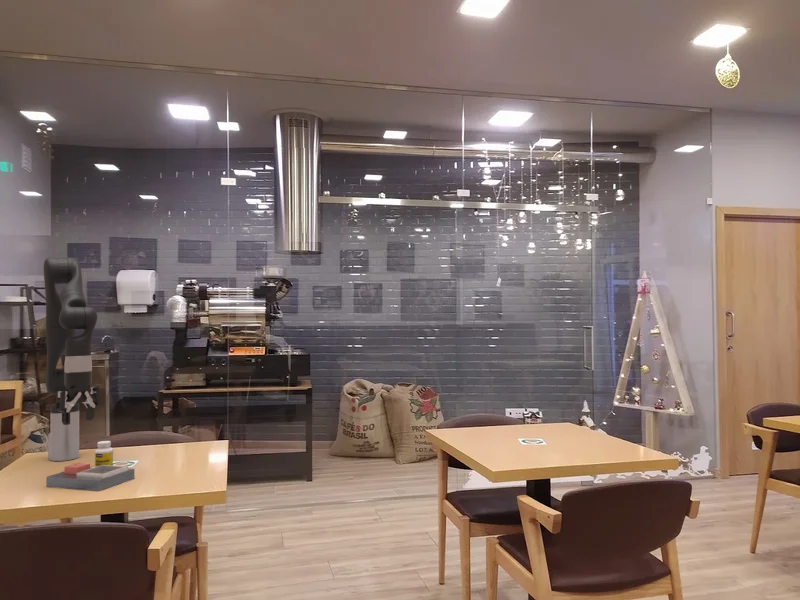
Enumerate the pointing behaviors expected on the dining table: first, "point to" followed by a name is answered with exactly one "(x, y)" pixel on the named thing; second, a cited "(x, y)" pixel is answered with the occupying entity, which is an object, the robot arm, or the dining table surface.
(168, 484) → the dining table surface
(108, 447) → the supplement bottle
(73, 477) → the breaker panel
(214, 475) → the dining table surface
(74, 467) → the button
